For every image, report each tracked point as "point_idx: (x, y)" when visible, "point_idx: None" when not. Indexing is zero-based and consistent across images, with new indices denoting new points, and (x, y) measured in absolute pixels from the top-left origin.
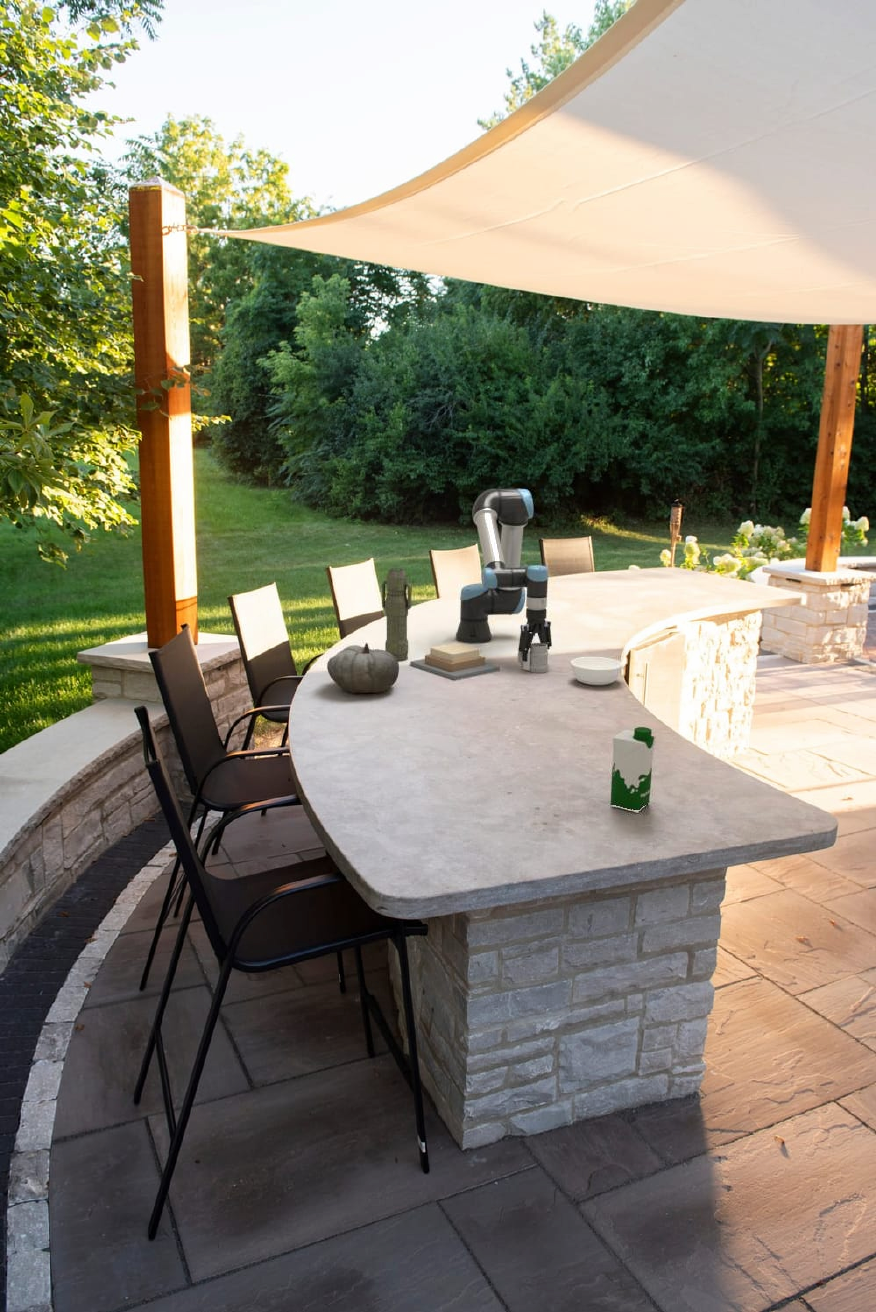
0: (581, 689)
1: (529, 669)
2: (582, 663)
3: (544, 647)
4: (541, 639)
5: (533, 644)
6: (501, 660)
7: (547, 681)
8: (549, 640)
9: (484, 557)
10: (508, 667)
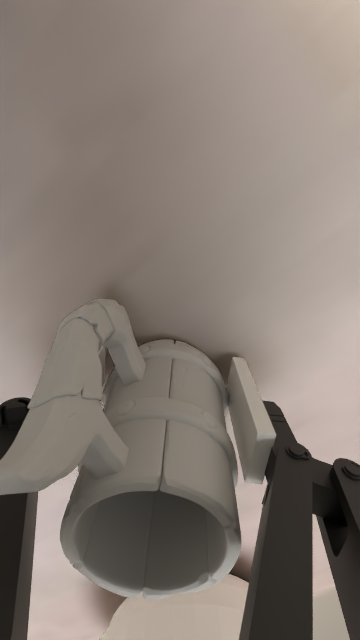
0: (87, 605)
1: (103, 382)
2: (237, 622)
3: (139, 588)
4: (254, 569)
5: (150, 483)
6: (193, 15)
7: (60, 503)
8: (338, 577)
9: None
10: (82, 221)
